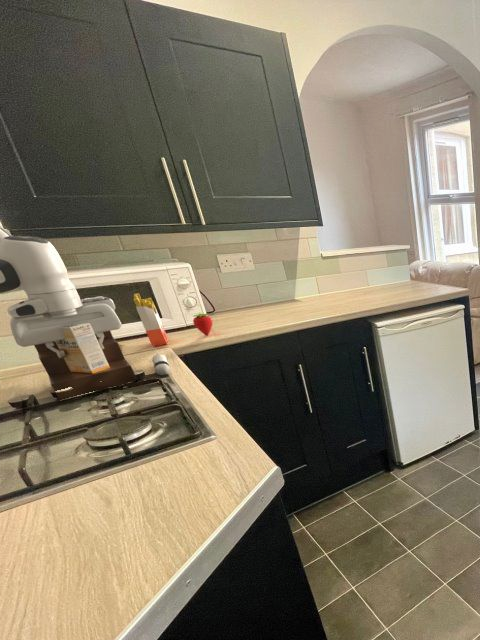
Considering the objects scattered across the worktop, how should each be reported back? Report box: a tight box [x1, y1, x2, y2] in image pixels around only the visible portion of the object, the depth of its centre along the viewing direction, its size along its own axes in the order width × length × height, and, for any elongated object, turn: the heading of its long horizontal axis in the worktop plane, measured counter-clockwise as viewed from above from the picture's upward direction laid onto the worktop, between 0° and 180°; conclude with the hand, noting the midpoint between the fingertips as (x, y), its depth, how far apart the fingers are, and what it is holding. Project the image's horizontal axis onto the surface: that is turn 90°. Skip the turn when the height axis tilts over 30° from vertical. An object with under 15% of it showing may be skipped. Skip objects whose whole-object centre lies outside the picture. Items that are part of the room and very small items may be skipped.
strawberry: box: [192, 313, 213, 336], centre depth 159 cm, size 6×8×10 cm
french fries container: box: [133, 293, 169, 347], centre depth 150 cm, size 5×11×18 cm, turn 36°
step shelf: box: [33, 331, 138, 401], centre depth 116 cm, size 16×19×18 cm
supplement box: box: [55, 323, 110, 374], centre depth 112 cm, size 8×5×13 cm, turn 76°
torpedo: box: [149, 345, 171, 376], centre depth 127 cm, size 18×5×7 cm, turn 42°
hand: (82, 353), depth 113 cm, fingers closed on supplement box, 6 cm apart
